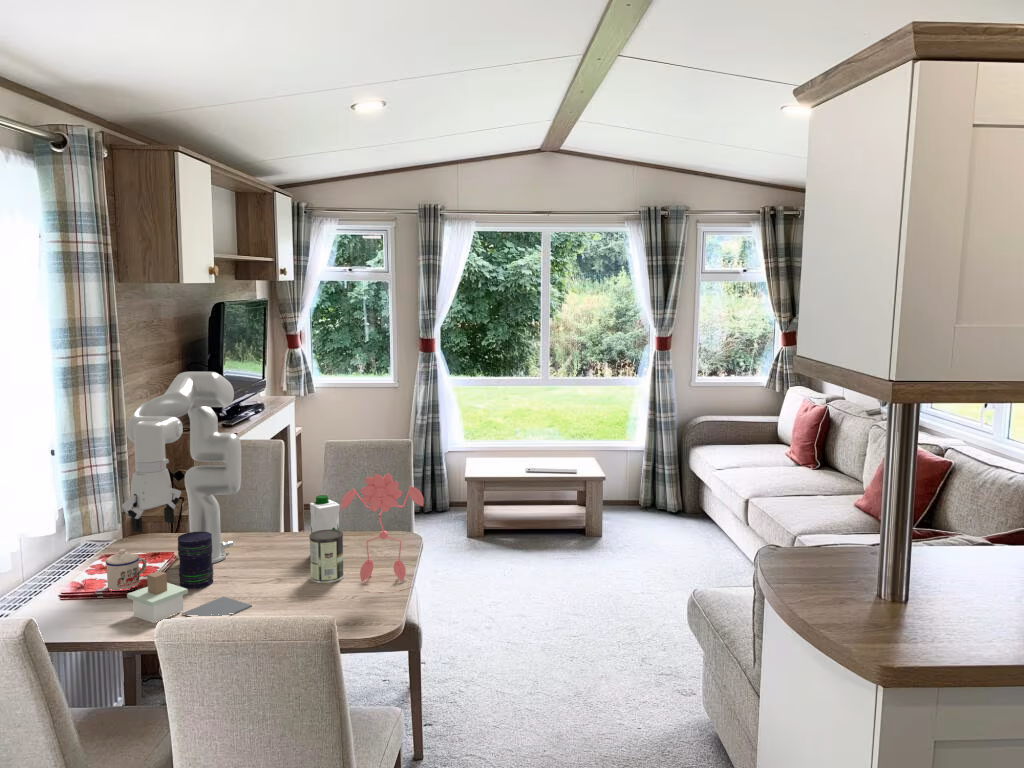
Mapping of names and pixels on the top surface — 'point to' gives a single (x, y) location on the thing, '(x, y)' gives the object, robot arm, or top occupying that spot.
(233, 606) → the mat
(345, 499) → the figurine
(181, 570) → the storage jar
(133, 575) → the teacup with lid
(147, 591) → the lid
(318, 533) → the coffee can
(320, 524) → the milk carton
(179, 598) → the white open box
